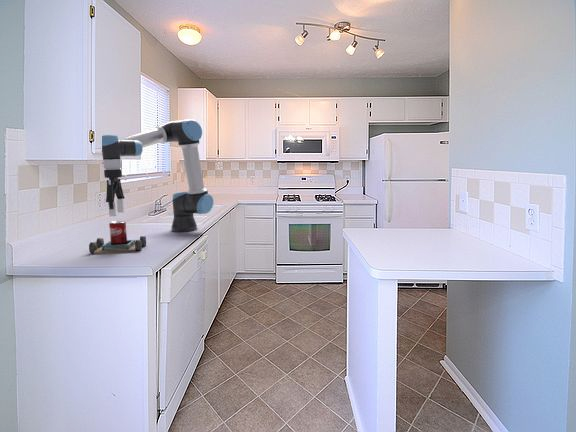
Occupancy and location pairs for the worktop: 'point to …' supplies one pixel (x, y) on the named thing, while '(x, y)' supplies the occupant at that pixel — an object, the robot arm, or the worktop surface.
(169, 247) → the worktop surface
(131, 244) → the chassis
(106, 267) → the worktop surface
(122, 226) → the soda can
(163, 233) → the worktop surface
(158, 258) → the worktop surface
